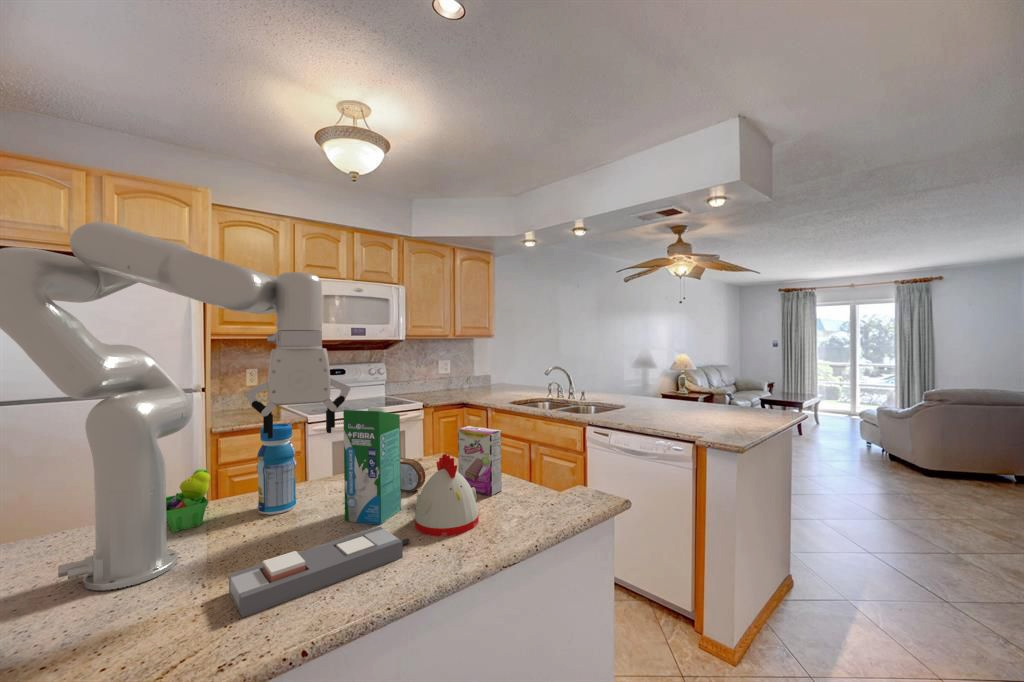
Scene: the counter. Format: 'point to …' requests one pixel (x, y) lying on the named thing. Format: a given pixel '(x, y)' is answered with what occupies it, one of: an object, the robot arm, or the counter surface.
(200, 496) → the fruit basket
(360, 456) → the milk carton
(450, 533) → the kitchen timer
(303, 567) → the outlet button
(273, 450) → the beverage bottle
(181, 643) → the counter surface
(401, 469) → the tin
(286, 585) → the power strip
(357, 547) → the outlet button
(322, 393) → the robot arm
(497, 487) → the candy bar box
